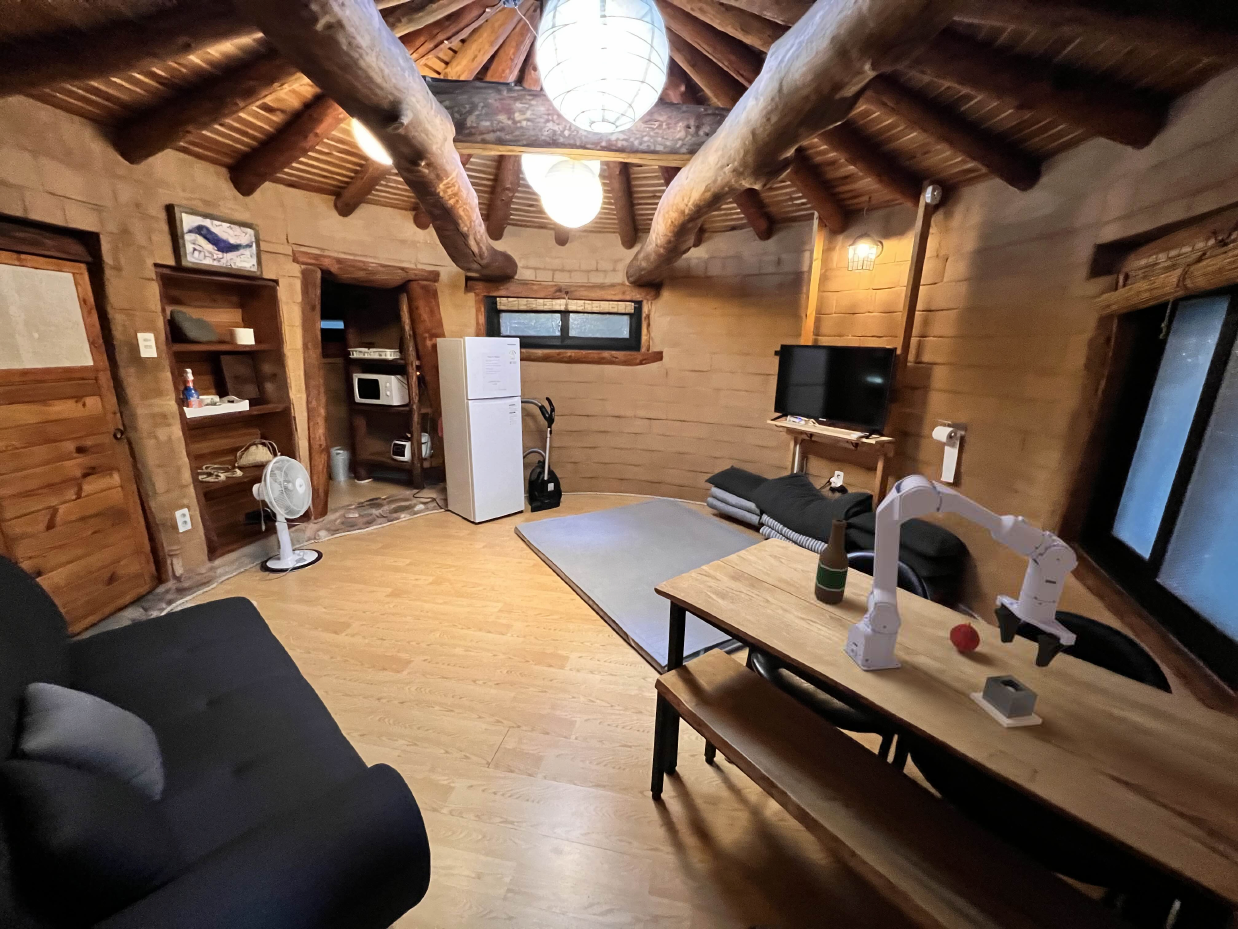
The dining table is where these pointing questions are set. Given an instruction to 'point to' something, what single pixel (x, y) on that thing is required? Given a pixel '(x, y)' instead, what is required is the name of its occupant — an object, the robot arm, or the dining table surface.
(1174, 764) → the dining table surface
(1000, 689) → the collar
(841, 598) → the beer bottle
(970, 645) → the onion
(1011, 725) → the post block
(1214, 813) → the dining table surface
